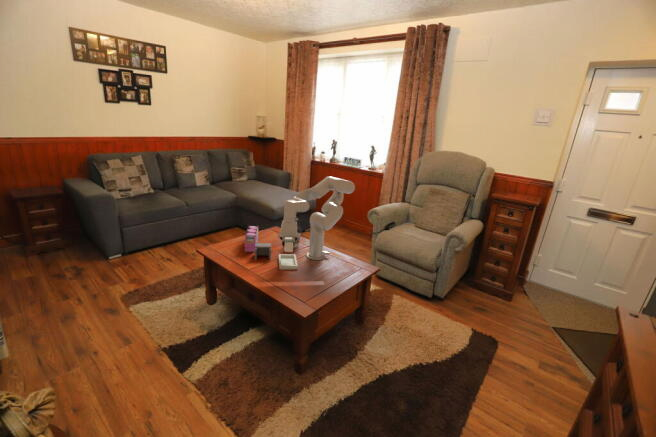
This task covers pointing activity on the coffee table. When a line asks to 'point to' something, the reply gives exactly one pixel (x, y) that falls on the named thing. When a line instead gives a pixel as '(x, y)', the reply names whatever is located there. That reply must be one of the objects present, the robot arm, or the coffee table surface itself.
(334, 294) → the coffee table surface
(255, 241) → the gum box
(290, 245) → the teal-tabbed cream block
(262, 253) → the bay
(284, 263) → the tray
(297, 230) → the coffee cup
